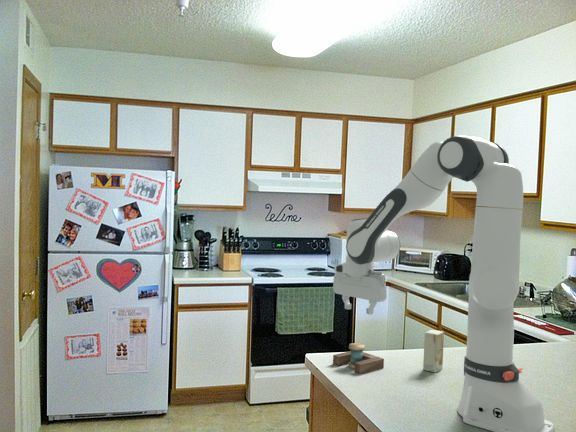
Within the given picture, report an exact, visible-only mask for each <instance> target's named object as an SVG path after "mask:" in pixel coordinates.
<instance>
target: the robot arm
mask: <svg viewBox="0 0 576 432" xmlns="http://www.w3.org/2000/svg"><path fill="white" fill-rule="evenodd" d="M509 160H510V159H509V154H508V153H507V151H506V149H504V148H503V146H501V145H500V144H498V143H495V142H493V141H488V140H485V139H483V138H482V137H476V136H467V135H454V136H450V137H449V138H447V139H445V140H444V141H436V142H433V143H431V144H430V145H429V146H428V147H427V148H426V149H424V152H422V153H421V155H420V156H419V157H418V158H417V160H416V161H415V162H414V164H413V165H412V166H411V167H410V169H409V171H408V172H407V174H406V175H405V176H404V177H403V178H402V180H401V181H400V182H399V183H398V184H397V185H396V186H395V187H394V188H393V189H392V190H390V192H389V193H388V194H386V196H385V197H384V198H383V199H382V200H381V201H380V203H379V204H378V205H377V206H376V207H375V209H374V210H373V211H372V212H371V214H370V215H369V216H368V217H364V218H356V219H351V221H349V223H348V225H347V230H346V239H345V240H346V242H345V243H346V244H345V249H346V253H347V254H346V256H345V262H343V263H339V264H336V265H335V266H334V267H333V270H334V272H335V273H334V275H333V281H332V283H333V284H332V285H333V287H332V288H333V291H334V293H335V294H337V295H341V300H342V301H343V303H344V309H345V310H352V306H353V305H352V303H350V297H352V298H357V299H362V300H366V301H368V304H369V306H368V307H367V308H366V309H365V310H366V313H365V314H367V315H374V311H375V310H374V309H375V307H376V305H377V304H378V303H381V302H385V301H386V300H387V297H388V295H387V286H386V276H385V274H383V273H382V272H381V271H379V270H378V271H376V270H374V267H375V265H374V264H375V263H377V262H379V263H380V262H386V261H387V262H388V261H391V260H395V258H397V256H398V255H399V253H400V251H401V241H400V240H401V239H400V238H399V236H398V235H397V234H396V232H394V231H393V230H388V228H389V227H390V226H391V225H392V223H394V222H395V221H396V220H397V219H399V218H400V217H402V216H404V215H405V214H408V213H411V212H413V211H417V210H421V209H425V208H427V207H430V206H431V205H432V204H433V203H434V202H436V201H437V200H438V199H439V197H440V196H441V195H442V194H443V192H444V190H445V189H446V188H447V186H448V185H449V184H450V182H451V181H452V180H453V179H454V178H456V179H459V180H461V181H464V182H470V181H471V182H473V184H474V186H475V187H476V202H475V211H474V223H473V237H472V238H473V239H472V254H471V264H470V265H471V266H470V273H469V278H468V279H469V282H468V301H467V302H468V307H467V330H466V331H467V333H466V335H467V336H466V354H465V356H464V361H463V375H464V379H463V385H462V386H463V387H462V391H461V395H460V399H459V404H458V405H457V408H456V411H457V413H458V414H459V416H461V418H462V422H463V423H465V424H468V425H470V426H474V427H477V428H480V429H484V430H488V431H491V432H554V429H555V426H554V423H553V422H551V421H549V420H547V419H545V415H544V414H545V413H544V407H543V404H542V401H541V399H540V398H539V397H537V396H536V395H535V394H534V393H533V391H531V390H530V389H529V388H528V387H527V386H526V385H525V384H524V383H523V382H522V381H521V379H520V374H521V373H523V367H521V368H517V366H516V364H515V363H514V361H513V360H514V341H515V340H514V338H515V325H514V324H515V322H514V320H515V319H514V318H515V316H514V313H515V311H514V307H515V305H514V303H515V301H516V299H517V297H518V295H519V287H520V286H519V285H520V283H519V282H520V265H521V264H520V263H521V260H520V259H521V236H522V235H521V234H522V222H523V211H524V210H523V209H524V185H523V184H524V183H523V176H522V172H521V171H520V170H519V168H517V167H516V166H514V165H512V164H510V163H509V162H510V161H509Z"/></svg>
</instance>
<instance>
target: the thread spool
mask: <svg viewBox="0 0 576 432" xmlns="http://www.w3.org/2000/svg"><path fill="white" fill-rule="evenodd" d="M365 347H366V345H365V344H363V343H360V342H359V343H357V342H356V343H349V345H348V349H349V350H350V351H351V358H350V362H349V363H348V364H347V365H348V366H347V367H348V368H349V369H352V370H354V369H355V362H359V361H362V355H363V352H364V350H365V349H366V348H365Z"/></svg>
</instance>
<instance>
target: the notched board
mask: <svg viewBox="0 0 576 432" xmlns="http://www.w3.org/2000/svg"><path fill="white" fill-rule="evenodd" d="M350 358H351V350H350V351H346V352H340V353H336V354H333V356H332V364H333V366H334V365H335V366H336V367H341V366H344V365H348V363H349V362H350ZM384 365H385V358H383V357H380V356H376V355H373V354H370V353H368V352H364V351H363V355H362V361H359V362H355V369H353V370H354V371H353V372H354V373H356V374H359V375H363V374H367V373H371V372H375V371H378V370H382V369H384Z"/></svg>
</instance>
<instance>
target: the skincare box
mask: <svg viewBox="0 0 576 432" xmlns="http://www.w3.org/2000/svg"><path fill="white" fill-rule="evenodd" d="M444 337H445V332H444V331H442V330H436V329H430V330H427V331H425V332H424V343H423V344H424V345H423V346H424V347H423V361H422V364H423V365H422V371H428V372H430V373H437V372H439V371H440V370H442V369H443V364H444V363H443V362H444V341H445V340H444Z"/></svg>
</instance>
